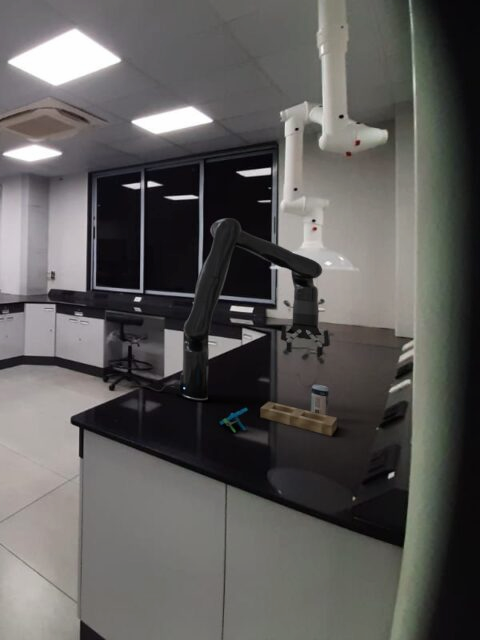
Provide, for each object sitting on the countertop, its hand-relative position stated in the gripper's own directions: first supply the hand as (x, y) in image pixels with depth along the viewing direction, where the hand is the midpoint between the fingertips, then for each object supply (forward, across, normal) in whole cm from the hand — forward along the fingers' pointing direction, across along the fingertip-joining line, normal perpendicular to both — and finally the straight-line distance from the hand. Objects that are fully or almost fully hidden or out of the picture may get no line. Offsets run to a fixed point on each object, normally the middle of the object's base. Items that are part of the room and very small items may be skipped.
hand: (304, 354), depth 154 cm
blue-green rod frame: (+22, -12, -40) cm, 47 cm away
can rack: (+22, +1, -15) cm, 27 cm away
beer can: (+22, +5, -4) cm, 23 cm away
